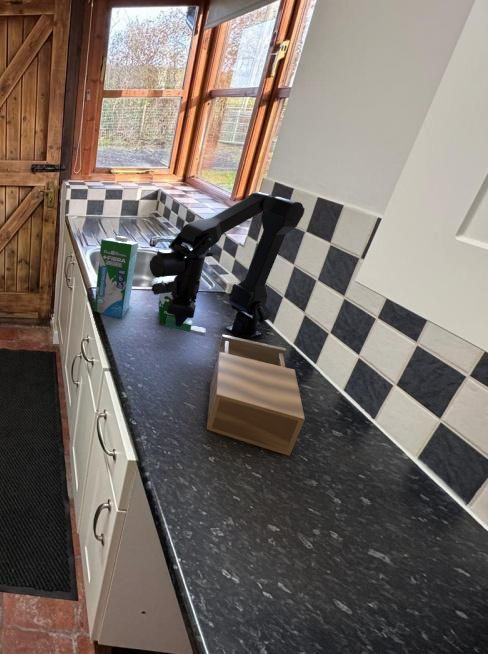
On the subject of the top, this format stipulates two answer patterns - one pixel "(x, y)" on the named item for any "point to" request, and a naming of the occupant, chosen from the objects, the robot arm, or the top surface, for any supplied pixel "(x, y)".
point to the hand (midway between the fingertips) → (178, 323)
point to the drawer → (252, 350)
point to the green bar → (184, 326)
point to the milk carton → (115, 275)
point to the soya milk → (164, 307)
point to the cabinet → (255, 403)
